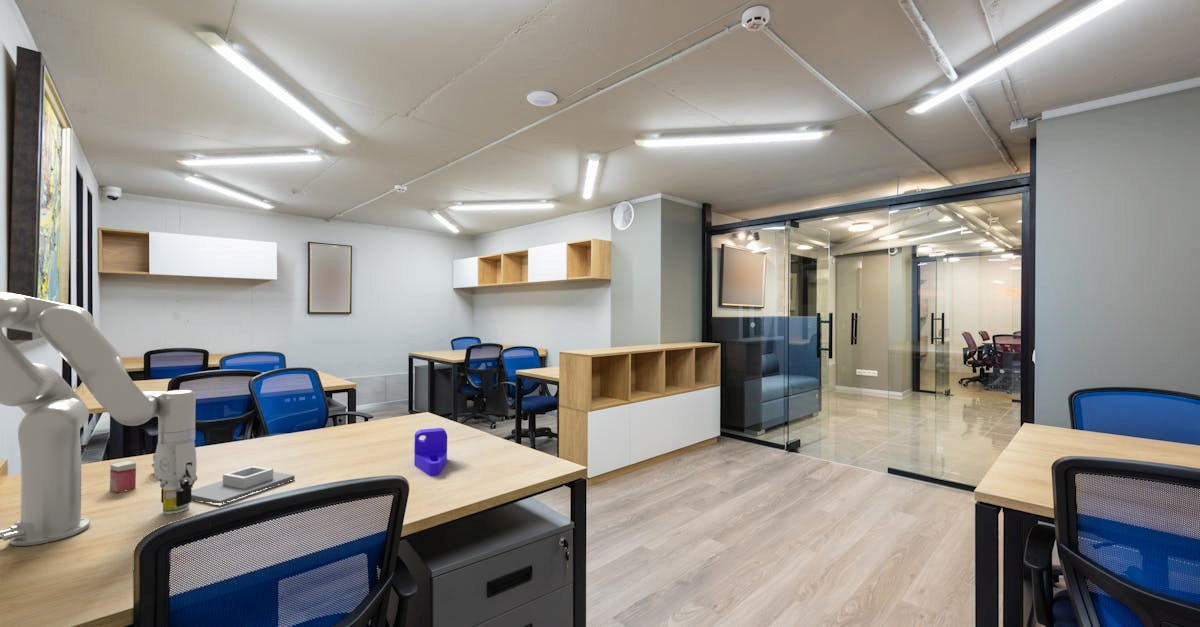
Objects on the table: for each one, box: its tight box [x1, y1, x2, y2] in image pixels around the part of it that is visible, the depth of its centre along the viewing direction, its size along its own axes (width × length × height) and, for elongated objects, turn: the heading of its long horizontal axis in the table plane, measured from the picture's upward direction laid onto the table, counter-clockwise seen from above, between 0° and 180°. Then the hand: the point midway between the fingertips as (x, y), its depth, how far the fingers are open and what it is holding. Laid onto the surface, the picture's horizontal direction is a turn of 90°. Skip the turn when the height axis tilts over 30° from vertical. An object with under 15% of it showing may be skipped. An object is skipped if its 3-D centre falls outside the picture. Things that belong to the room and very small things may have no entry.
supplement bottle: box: [162, 476, 190, 515], centre depth 128 cm, size 5×5×10 cm
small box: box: [109, 460, 137, 493], centre depth 142 cm, size 5×4×8 cm
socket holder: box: [191, 465, 295, 504], centre depth 144 cm, size 22×16×4 cm
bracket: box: [413, 427, 448, 477], centre depth 166 cm, size 18×11×12 cm, turn 24°
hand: (176, 502), depth 128 cm, fingers closed on supplement bottle, 5 cm apart
